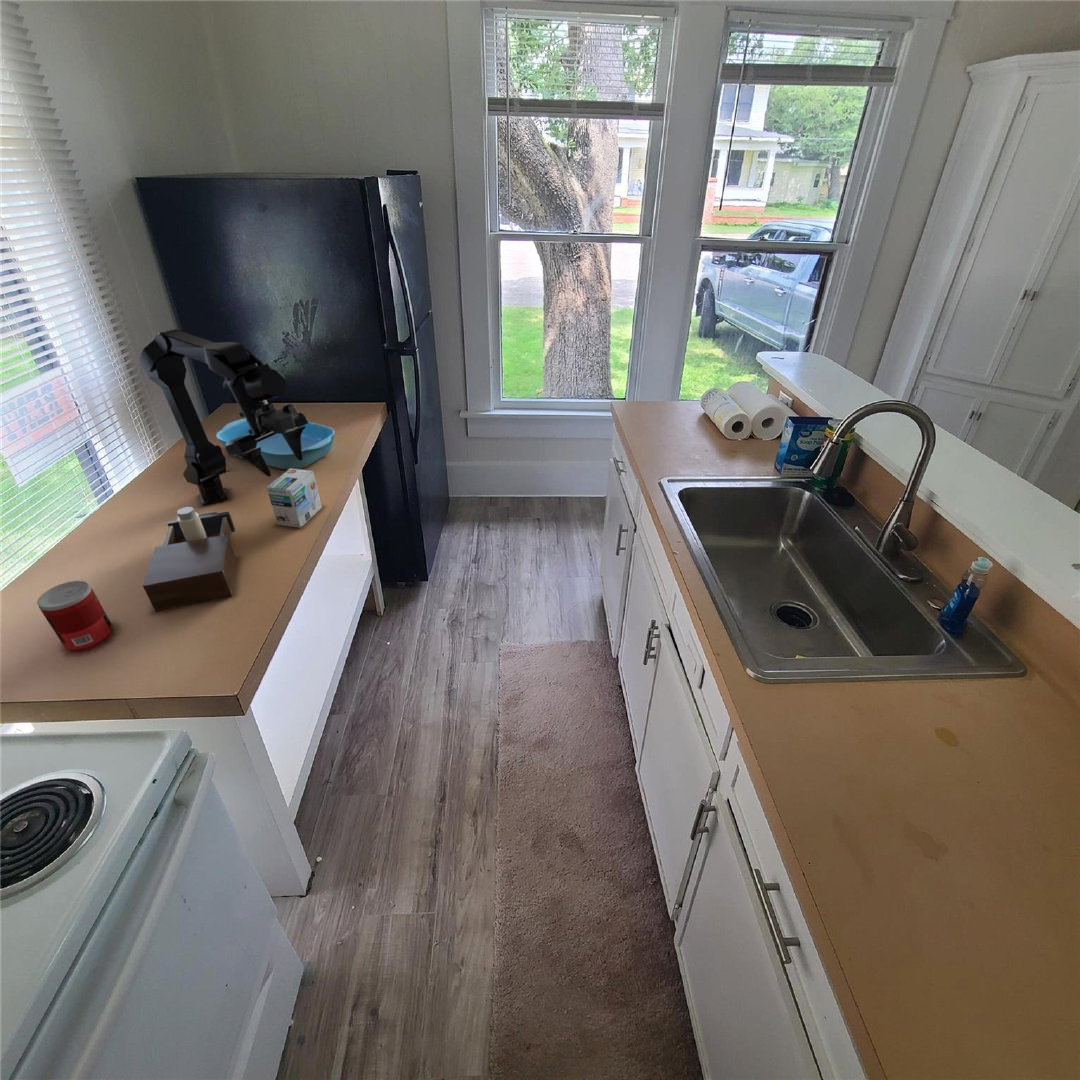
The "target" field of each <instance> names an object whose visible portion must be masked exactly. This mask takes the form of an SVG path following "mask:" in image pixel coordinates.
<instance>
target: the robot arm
mask: <svg viewBox="0 0 1080 1080" xmlns="http://www.w3.org/2000/svg"><path fill="white" fill-rule="evenodd" d="M186 357H187V358H190V359H192V360H196V361H198V362H201V363H204V364H206V365H207V367H208V369H209V370H210V371H212V372H213V373H215V374H217V375H218V376H220V377H224V381H223V384H222V388H223V389H227V388H229V390H230V392H231V394H232V395H233V398H234V399H235V401H236V403H237V405H238V407H239V410H240V412H238V414H239V417H240V418H244V419H246V421H247V423H248V425H249V427H250V428H251V429H250V430H248V432H249V434H250V435H246V436H241V437H238V438H235V439H233V440H231V441H229V442H226V449H225V450H226V452H227V454H228V456H234V455H235V454H236V456H235V457H236V458H240V457H239V456H241V457H242V458H241V459H243V458H244V460H245V461H247V462H249V464H251V465H253V466H254V467H255V468H256V469H257V470H259V471H260V472H261V473H262V474H263V475H265V476H266V477H267V478H270V477H271V476H272V473H271V470H270V469H269V466H268V465H266V463H265V461H264V459H263V457H262V455H261V447H259V448H256V446H257V442H259V441H262V440H264V439H266V438H268V437H270V436H273V435H275V434H281V433H282V435H283V437H284V438H285V440H286V442H287V443H288V445H289V447H290V448H291V450H292V452H293V453H294V455H295V456H296V458H297V459H298V460H299V461H300V460H302V459H303V458H302V449H301V434H302V432H303V430H304V429H305V426H303V425H305V424H307V423H309V422H310V421H309V420H308V418H307V416H306V415H305V414H304V413H302V412H298V410H297V408H296V406H295V404H291V403H289V404H285V405H283V407H282V408H280V409H277V408H276V407H275V405H274V404H273V402H268V400H271V399H274V398H279V397H282V396H283V395H284V394H285V393H286V391H287V380H286V379H285V377H284V376H283V375H282V373H281V372H279V371H278V370H276V369H273V368H272V367H271V365H270V364H269V363H263V361H262V360H260V359H259V358H257V356H255V355H254V354H253V353H252V352H251V351H250V350H249V349H248V348H247V347H246V346H245V345H243V344H242V343H240V342H236V341H221V342H214V341H211V340H209V339H205V338H203V337H199V336H196V335H193V334H190V333H188V332H184V331H183V330H181V329H180V328H171V329H167V330H164V331H163V330H162V331H160V332H158V333H157V334H156V335H155V337H154V339H153V340H152V341H151V342H149V343H148V345H146V346H144V347H143V349H142V351H141V352H140V355H139V356H138V363H139V365H140V367H141V368H142V369H143V371H144V372H145V374H146V376H147V377H148V379H150V380H151V381H152V382H154V383H155V384H156V385H158V387H160V388H161V390H162V392H163V395H164V397H165V399H166V401H167V404H168V406H169V408H170V411H171V413H172V415H173V417H174V420H175V421H176V424H177V427H178V428H179V430H180V433H181V435H182V437H183V440H184V442H185V444H186V446H185V450H184V455H183V457H184V460H185V462H186V467H185V469H184V471H183V473H182V476H183V477H184V479H185V481H186V483H190V484H192V485H194V486H197V489H198V491H199V500H200V504H201V505H202V506H206V505H210V504H216V503H219V502H224V501H228V500H229V499H230V498H229V494H228V490H227V488H226V487H224V485H223V482H222V478H221V476H220V475H223V474H226V473H227V460H226V459H227V458H226V457H225V455H224V453H223V450H222V447H221V446H220V445H218V444H215V443H213V442H212V441H211V440H209V438H208V436H207V433H206V432H205V429H204V426H203V424H202V422H201V420H200V417H199V415H198V412H197V410H196V408H195V406H194V403H193V401H192V398H191V396H190V394H189V391H188V389H187V386H186V384H185V380H186V376H187V367H186V365H185V359H186ZM302 426H303V427H302ZM264 432H265V433H264ZM251 434H254V435H251Z"/></svg>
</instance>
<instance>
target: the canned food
mask: <svg viewBox="0 0 1080 1080" xmlns="http://www.w3.org/2000/svg"><path fill="white" fill-rule="evenodd" d="M36 604H37V606H38V609H39V610H40V611H41V613H42V615H43V616H44V618H45V619H46V621H47V622H48V624H49V625H50V627H51V628H52V630H53V631H54V633H55V635H56V636H57V638H58V639H59V641H60V642H61V644H62V645H63V647H64V648H65V649H66V650H68V651H70V652H75V653H76V652H85V651H89V650H92V649H94V648H96V647H98V646H100V645H102V644H103V643H105V642H106V641H107V640H109V639H110V637H111V636H112V634H113V633H114V627H113V626H114V625H113V624H112V622H111V620H110V618H109V615H107V613H106V611H105V609H104V607H103V605H102V603H101V602H100V600H99V597H98V596H97V594H96V593H95V591H94V589H93V587H92V586H91V584H90V583H89V582H87V581H84V580H72V581H67V582H64V583H60V584H58V585H55V586H52V587H51V588H49V589H47V590H46V591H44V592H43V593H42V594H41V595H40V596H39V597H38V599H37V601H36Z"/></svg>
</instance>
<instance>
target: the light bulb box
mask: <svg viewBox="0 0 1080 1080" xmlns="http://www.w3.org/2000/svg"><path fill="white" fill-rule="evenodd" d="M314 473H315V472H314V471H313V470H308V469H307V470H305V469H299V470H298V469H289V470H285V472H284V473H282V474H281V475H280V476H279V477H278V478H276V479H275V480H274V481H273V482H272V483H270V484H269V485H268V486H266V490H267V494H268V497H269V500H270V504H271V507H272V510H273V514H274V517H275V520H276V525H277V526H284V527H292V528H299V529H300V528H302V527H303V526H304V525H305V524H306V523H308V521H310V519H311V518H313V517H314V516H315V515H316V514H317V513H318V512H319V511H320V510H322V508H323V507H322V502H321V498H320V494H319V490H318V486H317V482H316V477H315V474H314Z"/></svg>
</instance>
